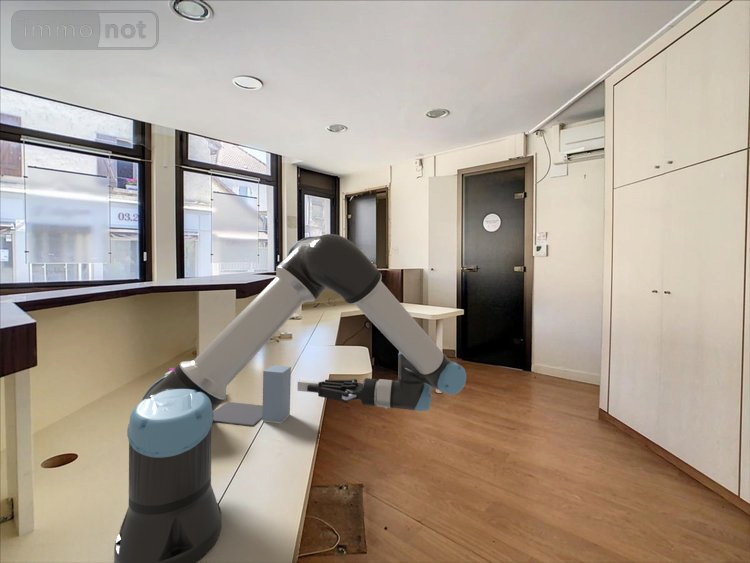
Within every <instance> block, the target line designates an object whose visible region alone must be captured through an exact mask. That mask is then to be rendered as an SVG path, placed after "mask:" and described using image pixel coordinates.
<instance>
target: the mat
mask: <svg viewBox="0 0 750 563" xmlns="http://www.w3.org/2000/svg"><path fill="white" fill-rule="evenodd" d="M262 412H263V404H261V405H260V404H253V403H252V404H251V403H243V402H242V403H240V402H230V401H227V402H225V403H223V405H221V406H219V407H217V408H216V409H215V410H214V411H213V422H212V423H221V424H230V425H237V426H239V425H240V426H248V427H254V426H255V425H256V424H258V423H259V422H260V420H261V421H262Z"/></svg>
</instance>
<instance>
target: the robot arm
mask: <svg viewBox="0 0 750 563" xmlns="http://www.w3.org/2000/svg"><path fill="white" fill-rule="evenodd" d="M275 268H276V270H275V271H276V272H275V273H276V274H275V275H276V276H275V278H274V279H273V280H271V281H270V283H269V284H268V285H267V286H266V287H264V289H263V290H262V291H261V292H260V293H259V294H258V295H257V296H256V297H255V298H254V299H253V300H252V301H251V302H249V304H248V305H247V306H246V307H245V308H244V309H242V311H241V312H240V313H239V314H238V315H237V316H236V317H235V318H234V319H233V320H232V321H231V322H230V323H229V324H228V325H227V326H226V327H225V328H224V329H223V330H222V331H221V332H220V333H219V334H218V335H217V336H216V337H215V338H214V340H213V341H211V342H210V343H209V344H208V345H207V346H206V347H205V348H204V349H203V350H202V352H200V353H199V354H198V355H197V356H196V357H195V359H193V360H186V361H185V360H184V361H180V363H179V364H178V365H177V366H176V367H174V368H175V369H174V370H173V371H172V372H171V373H170V374H169V375H167V376H165V377H164V376H163V377H161V378H160V379H158V380H156V382H154V383H153V384H152V385H151V386H150V387H149V388H148V389H147V390H146V392H145V394H144V395H143V396H142V399H141V401H140V402H139V403H138V404H137V405H136V406H134V408H133V410H132V411H131V413H130V416H129V422H128V424H127V425H128V426H127V431H126V435H127V436H126V437H127V438H128V439H127V440H128V506H127V510H126V513H125V515H124V518H123V521H122V523H121V525H120V529H119V533H118V534H117V537H116V540H115V542H114V550H113V553H114V554H113V555H114V556H113V557H114V558H113V563H197V562H199V560H201V559H202V558H203V557H204V556H205V555H206V554H207V553H209V551H210V550H211V549H212V548H213V547H214V546H215V545H216V543H217V541H218V540H219V537H220V535H221V532H222V518H223V516H222V510H221V507H220V504H219V503H218V501H217V498H216V495H215V492H214V489H213V486H212V441H213V440H212V432H213V429H212V428H213V427H212V426H213V423H214V422H213V412H214V411H215V410H217V409H218V408H219V407H220V405H221V404H222V403H223V401H224V400H226V398H227V388H228V385H230V383H231V382H232V381H233V380H234V379H235V378H236V377H237V376H238V375H239V374H240V372H241V371H242V370H243V369H244V368H245V367H246V366H247V365H248V364H249V362H251V361H252V359H253V358H255V356H256V355H257V354H258V353H259V352H260V351H261V350H262V349H263V348H264V347H265V345H266V344H267V343H268V342H269V341H270V340H271V339H272V338H273V337H274V335H275V334H276V333H278V331H279V330H280V329H281V328H282V327H283V326H284V325H285V324H286V323H287V322H288V321H289V319H290V318H291V317H293V315H294V314H295V313H296V312H297V311H298V310H299V309H300V307H301V306H302V305H303V304H304V303H308V302H315V301H316V300H317V299H318V298H319V296H320V295H322V294H323V292H324V291H325V290H326V289H329V290H331V291H332V292H334V293H336V294H337V295H339V297H341V298H342V300H344V302H345V303H347V304H348V305H355V306H356V307H357V309H359V310H360V311H361V312H362V313H363V314H364V315H365V317H366V318H368V320H369V321H370V322H371V323H372V324H373V325H374V326H375V327H376V329H378V331H380V333H381V334H383V336H384V337H385V338H386V339H387V340H388V341H389V342H390V343H391V344H392V345H393V346H394V347H395V348H396V349H397V350H398V354H397V356H398V360H397V361H398V363H397V364H398V366H397V367H398V368H397V370H398V371H397V372H398V373H397V374H398V375H397V380H392V379H381V378H379V379H378V380H377V379H376V378H370V377H369V378H368V377H366V378H364V379H363V381H362V383H361V382H358V379H357V378H354V379H324V381H323V380H322V381H311V380H300V379H298V381H297V389H296V390H297V392H307V393H315V394H318V395H317V396H318V397H319V398H325V399H328V400H329V399H330V400H334V401H338V402H342V403H343V404H344V403H345V404H348V403H349V402H350V401H349V400H352V401H353V400H355V401H356V400H360V401H361V405H362V406H365V407H366V406H367V407H374V406H377V408H378V407H380V408H384V409H386V410H387V409H388V408H389V409H390V408H391V409H399V410H408V411H412V412H426V411H427V412H428V411H429V410H430V409H431V406H432V405H431V404H432V403H431V402H432V388H435V389H436V390H439V392H440V393H445V394H447V395H449V396H450V395H451V396H454V395H457V394H459V393H460V392H461V391H462V390H463V389H464V387H465V385H466V383H467V382H466V381H467V373H466V370H465V368H464V366H462V365H461V364H458V363H457V362H456V361H452V360H450V359H449V358H448V356H446V354H445V353H444V352H443V351H442V349H440V347H438V345H437V344H436V343H435V342H434V341H433V340H432V338H431V337H430V336H429V335H428V333H426V332H425V330H424V329H423V328H422V326H420V325H419V323H418V322H417V321H416V320H415V318H413V316H412V315H411V314H410V313H409V311H408V310H407V309H406V307H404V306H403V305H402V303H401V302H400V301H399V300H398V299H397V298H396V297H395V295H394V294H393V293H392V292H391V291H390V289H388V287H387V286H386V285H385V283H384V282H382V279H383V278H382V276H383V275H382V273H381V272H380V270H379V269H378V268H377V267H376V266H375V264H374V263H373V262H372V261H371V260H370V258H368V256H366V254H365V253H364V252H363V251H362V250H361V249H360V248H359V247H358V246H357V245H356V244H354V243H353V242H352V241H350V240H349V239H348V238H346V237H344V236H341V235H339V234H335V233H327V234H321V235H316V236H308V237H304V238H302V239H300V240H298V241H297V242H295V243H294V244H293V245H292V247H290V249H289V251H288V253H287V255H286V257H285V258H284V259H283V260H282V261H281V262H280V263H279V264H278V265H277V266H276V267H275Z"/></svg>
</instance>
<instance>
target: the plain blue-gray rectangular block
mask: <svg viewBox="0 0 750 563" xmlns="http://www.w3.org/2000/svg"><path fill="white" fill-rule="evenodd" d="M291 370H292V367H291V366H284V365H270V366H269V367H267V368H266V369H264V370H263V371H262V372H263V373H262V405H263V412H262V419H261V421H262V422H263V423H264V422H268V423H275V424H283V422H285V420H286V419H287V418H288V417H289V416H291V382H292V381H291V377H292V372H291Z"/></svg>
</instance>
